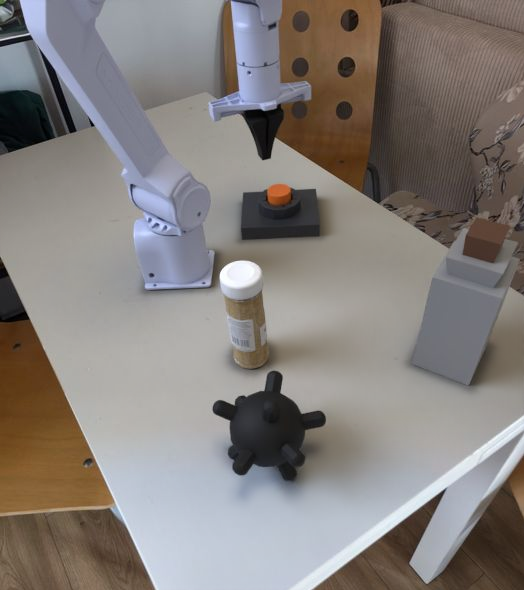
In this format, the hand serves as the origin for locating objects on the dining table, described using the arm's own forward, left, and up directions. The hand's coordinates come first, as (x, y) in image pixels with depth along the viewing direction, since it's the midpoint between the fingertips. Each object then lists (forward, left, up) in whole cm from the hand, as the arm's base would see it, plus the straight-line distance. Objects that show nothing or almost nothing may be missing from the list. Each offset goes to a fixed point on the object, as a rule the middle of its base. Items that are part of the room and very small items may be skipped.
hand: (264, 156), depth 78 cm
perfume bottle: (+22, -33, -10) cm, 41 cm away
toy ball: (0, -46, -10) cm, 47 cm away
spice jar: (-2, -32, -10) cm, 33 cm away
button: (+2, -3, -6) cm, 7 cm away
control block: (+2, -3, -9) cm, 10 cm away
